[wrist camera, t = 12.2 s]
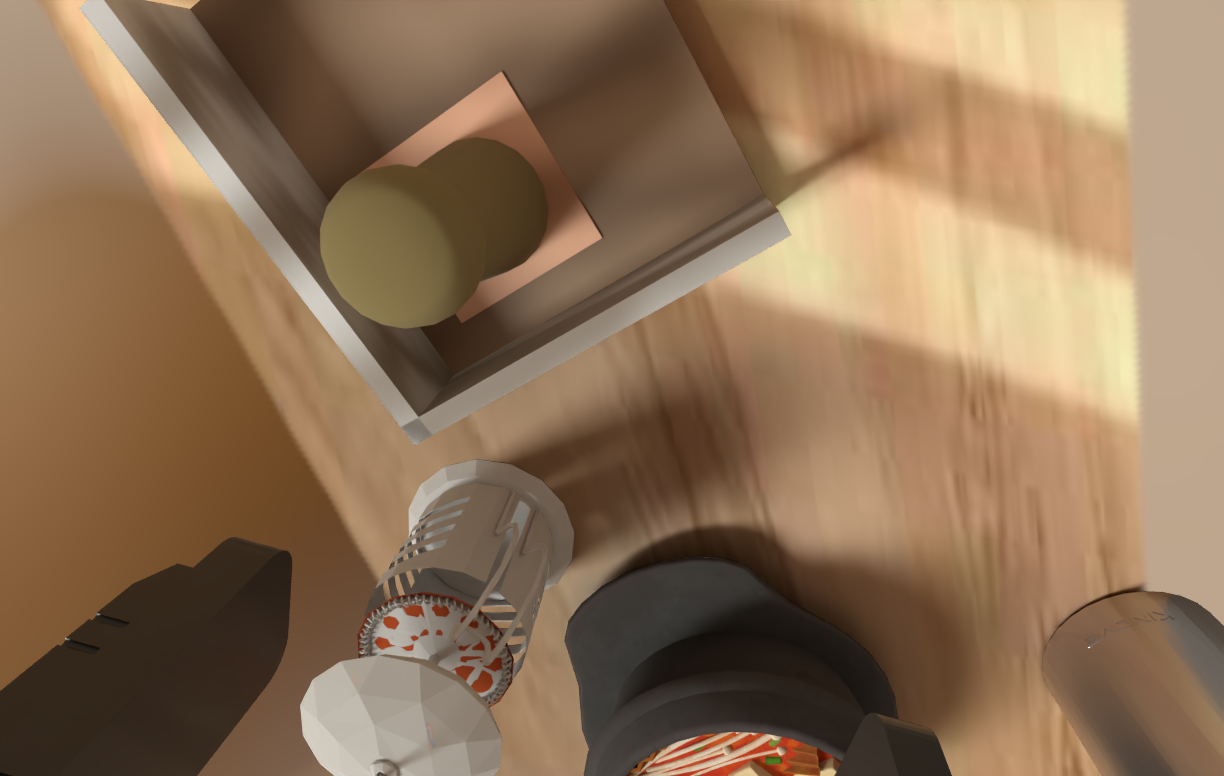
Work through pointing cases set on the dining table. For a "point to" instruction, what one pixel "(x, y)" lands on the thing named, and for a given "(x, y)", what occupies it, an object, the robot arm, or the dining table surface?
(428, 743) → the french press
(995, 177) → the dining table surface
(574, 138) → the board
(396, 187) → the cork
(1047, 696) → the dining table surface
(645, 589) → the casserole
